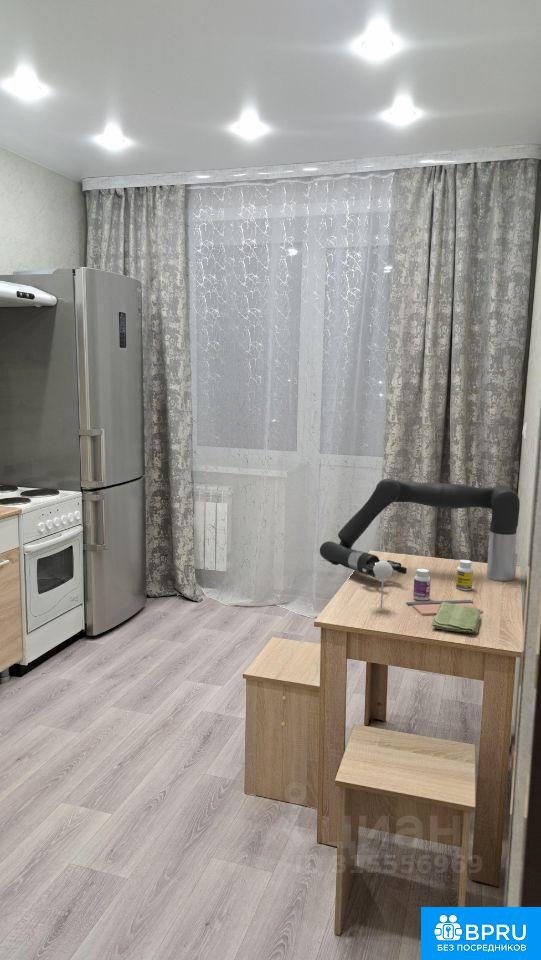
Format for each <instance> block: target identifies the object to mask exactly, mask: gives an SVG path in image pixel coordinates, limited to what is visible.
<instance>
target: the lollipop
mask: <svg viewBox="0 0 541 960" xmlns="http://www.w3.org/2000/svg"><path fill="white" fill-rule="evenodd" d="M373 571H374V574H375V577H376V578H378V579H379V580H381V591H380V592H381V594H380V595H381V596H380V607H381V608H383V600H384V599H383V596H384V595H383V594H384V580H387V579H389V578H391V576H392V575H393V568H392V566H391V565H390V564H389V563H388V562H387V561H386V560H380V562H378V563H376V565H375V566H374V568H373Z"/></svg>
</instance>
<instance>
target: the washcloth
mask: <svg viewBox="0 0 541 960" xmlns="http://www.w3.org/2000/svg"><path fill="white" fill-rule="evenodd" d="M478 608H479V607H478ZM478 608H473V607H467V606H459V605H455V604H451V603H446V602H442V603H441V605H440V607H439V610H438V612H437V615H434V618H433V620H432V623H431V626H432V627H434V629H439V630H443V631H451V632H458V633H467V634H468V633H469V634H473V635H477V633H479V627H480V620H481V618H480V617H481V613H480V608H479V609H478Z"/></svg>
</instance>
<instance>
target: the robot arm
mask: <svg viewBox="0 0 541 960" xmlns="http://www.w3.org/2000/svg"><path fill="white" fill-rule="evenodd" d="M392 503H414V504H419V505H421V506H422V505H423V506H427V507H430V508H437V509H438V508H440V509H452V510H453V509H455V510H456V509H467V508H484V509H489V510H492V511H491V520H490V524H489V536H488V537H489V539H488V549H487V550H488V551H487V565H486V566H487V568H486V578H488V579H490V580H494V581H500V582H501V581H502V582H508V581H512V580H516V576H517V575H516V574H517V562H518V561H517V560H518V554H517V553H516V541H517V531H518V530H517V529H518V526H519V518H520V517H519V516H520V508H521V507H520V504H521V503H520V498H519V495H518V493H516V492H515V491H514V490H513V489H511V488H509V487H475V486H472V485H471V486H470V485H465V484H463V485H462V484H455V483H447V482H446V483H445V482H418V483H417V482H415V483H414V482H406V481H400V480H396V479H392V478H384V479H381V480H380V481H379V482H377V484H376V486H375V489H374V491H373V492H372V494H371V495H370V497H369V499H368V500H367V501H366V502H365V503H364V505H363V506H362V507H361V508H359V510H358V512H356V513H355V514H354V515H353V516H352V517H351V518H350V519H349V520H348V521H347V522H346V523H345V524H344V525H343V526H342V528H341V529H340V530H339V532H337V533H338V534H337V537H338V538H339V540H340V542H339V543H337V542H334V541H325V542H323V543H322V544H321V545H320V547H319V555H320V556H321V557H322V558H323V559H324V560H325V561H327V562H329V563H330V564H332V565H334V566H338V565H341V566H343V567H345V568H348V569H351V570H353V571H355V572H358V573H361V574H363V575H367V576H371V577H373V578H374V577H376V576H375V574H374V571H373V568H374V566H375V565H376V563H378V562H380V561H381V560H380V558H379V557H378V556H377V555H375V554H371V553H369V552H365V551H361V550H357V549H353V548H352V547H353V546H354V544H355V543H356V542H357V541H358V540H359V539H360V537H361V536H362V535H363V534H364V533H365V531H366V530H367V529H368V527H370V525H371V524H372V523H373V521H375V519H376V518H377V517H378V515H380V513H382V512H383V511H384V510H385V509H386V508H388V507H389V506H390V505H391V504H392ZM386 562H388V563H389V564H390V565H391V566H392V568H393V572H394V573H398V574H402V575H406V574H407V569H408V568H407V567H404V566H402V563H401V562H397V561H392V560H388V559H387V561H386ZM393 572H392V573H393Z"/></svg>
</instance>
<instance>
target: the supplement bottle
mask: <svg viewBox="0 0 541 960" xmlns="http://www.w3.org/2000/svg"><path fill="white" fill-rule="evenodd" d="M473 575H474V568H473V567H472V561H471V560H468V559H460V560H459V566H457V568H456V579H455V588H456V589H457V590H461V591H471V590H472V589H473V578H474V576H473Z"/></svg>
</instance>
